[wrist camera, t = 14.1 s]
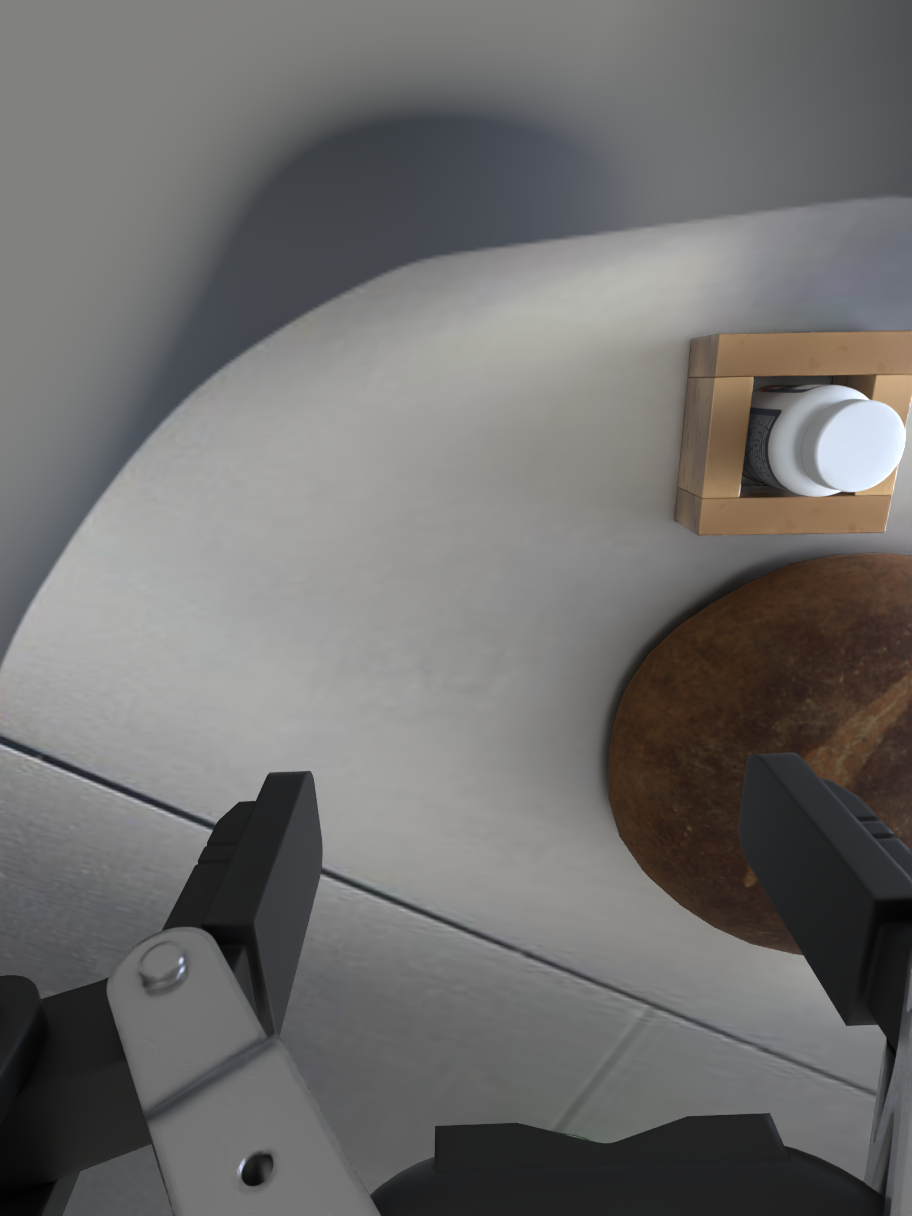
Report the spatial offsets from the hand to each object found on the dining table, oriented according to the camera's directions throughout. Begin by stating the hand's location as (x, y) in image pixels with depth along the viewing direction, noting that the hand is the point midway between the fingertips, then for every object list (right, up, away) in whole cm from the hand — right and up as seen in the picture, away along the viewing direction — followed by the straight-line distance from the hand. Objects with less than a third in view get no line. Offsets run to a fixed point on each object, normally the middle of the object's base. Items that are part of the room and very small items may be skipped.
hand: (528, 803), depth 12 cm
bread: (+23, -5, +32) cm, 39 cm away
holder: (+17, +14, +25) cm, 33 cm away
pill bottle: (+16, +14, +25) cm, 33 cm away
